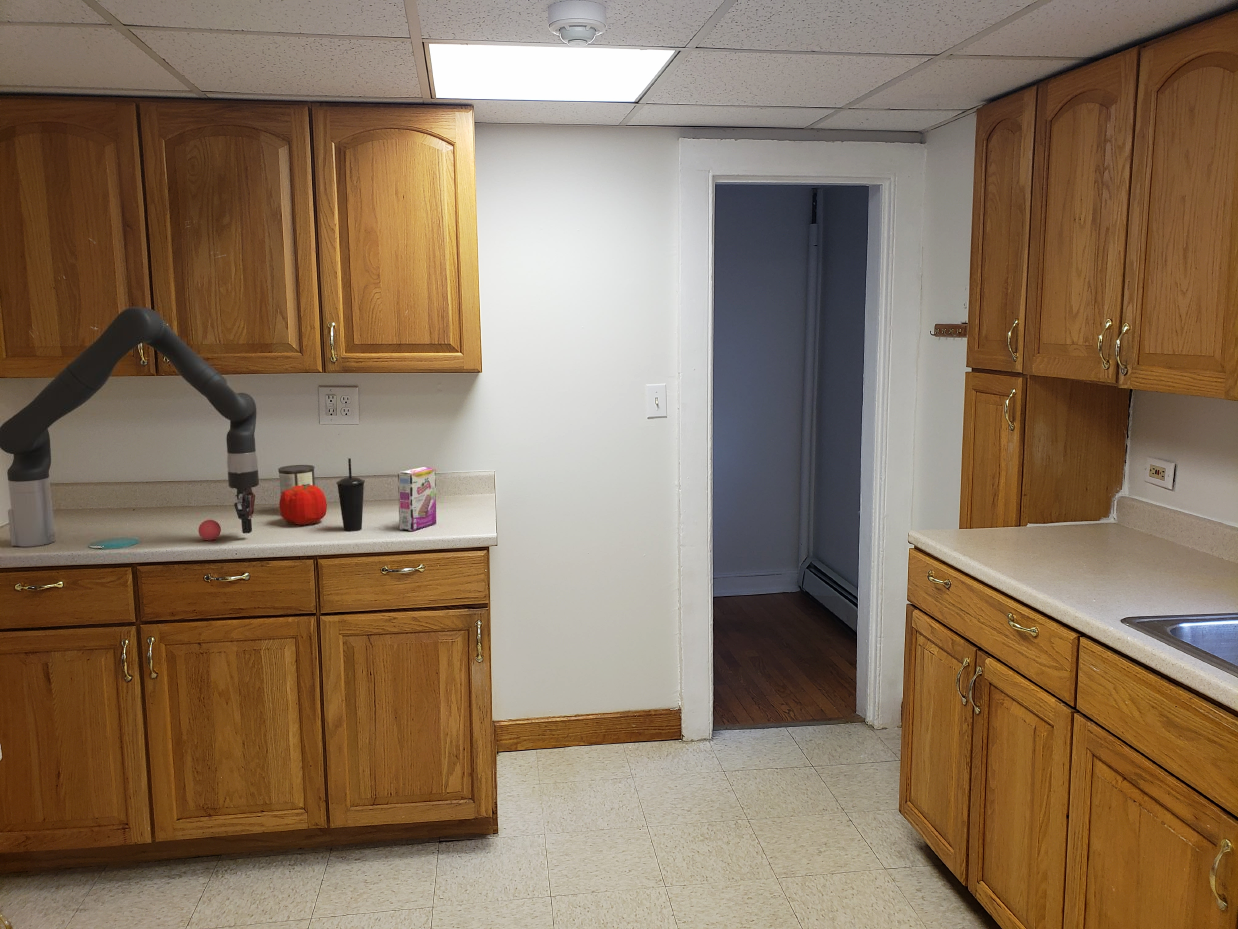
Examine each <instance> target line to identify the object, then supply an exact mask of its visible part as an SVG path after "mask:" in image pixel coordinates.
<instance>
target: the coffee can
mask: <svg viewBox="0 0 1238 929" xmlns="http://www.w3.org/2000/svg"><path fill="white" fill-rule="evenodd" d="M277 470H278V478H279V493H280V496H281V494H282V493H283V491H285V490H287V489H290V488H292V487H295V486H297V485H300V486H306V487H308V486H309V485H313V486H316V481H315V480H316V479H315V477H316V476H315V466H314V465H310V464H296V465H295V464H292V465H285V466H284V465H283V466H280V467H279V468H278V469H277Z"/></svg>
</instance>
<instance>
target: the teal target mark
mask: <svg viewBox="0 0 1238 929" xmlns="http://www.w3.org/2000/svg"><path fill="white" fill-rule="evenodd" d="M140 542H141V540H140V538H136V537H114V538H106V539H101V540H97V541H93V542H91V543H89V544H88V546H101V547H102V546H104V547H102V549H101V550H113V548H115V549H122V548H126V547H127V546H128V547H131V546H135V545H137V544H139V543H140ZM110 548H112V549H110Z"/></svg>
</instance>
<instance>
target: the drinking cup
mask: <svg viewBox="0 0 1238 929" xmlns="http://www.w3.org/2000/svg"><path fill="white" fill-rule="evenodd" d="M347 459H348V461H347V463H348V465H347V466H348V476H346V477H343V478H341V479H339V480H337V481H336V482H335V483H336V485H337V490H338V491H337V492H338V499H339V504H340V512H341V513H340V514H341V519H342V527H343V531H344V530H345V532H358V531H361V530H363V510H364V509H363V507H364V488H365V483H366V480H365V479H362V478H360V477H357V476H352V460H351V457H349V458H347Z"/></svg>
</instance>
